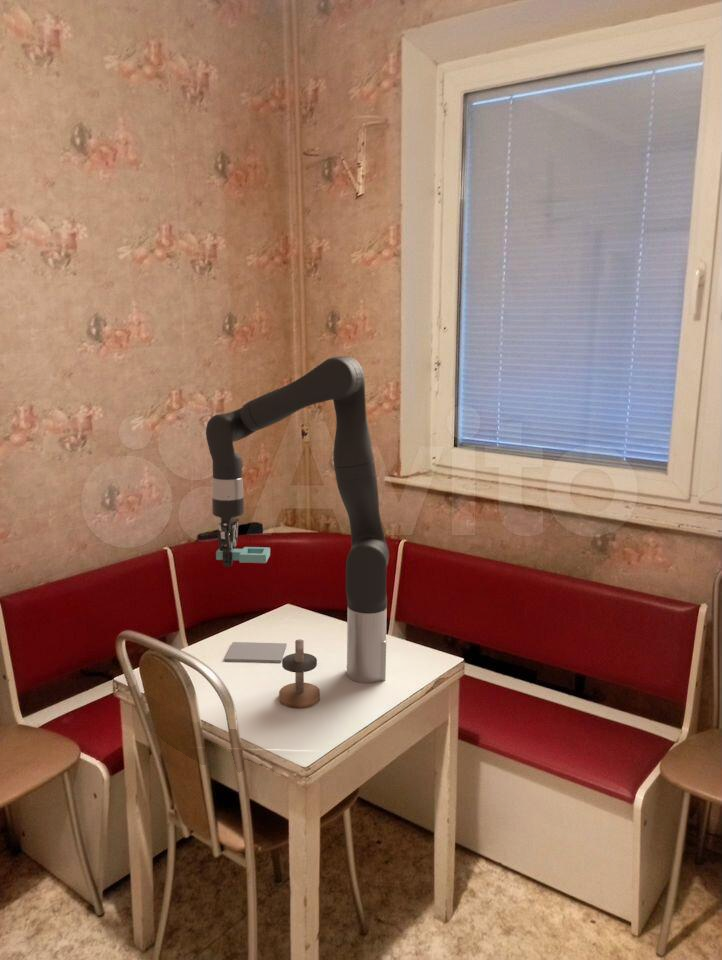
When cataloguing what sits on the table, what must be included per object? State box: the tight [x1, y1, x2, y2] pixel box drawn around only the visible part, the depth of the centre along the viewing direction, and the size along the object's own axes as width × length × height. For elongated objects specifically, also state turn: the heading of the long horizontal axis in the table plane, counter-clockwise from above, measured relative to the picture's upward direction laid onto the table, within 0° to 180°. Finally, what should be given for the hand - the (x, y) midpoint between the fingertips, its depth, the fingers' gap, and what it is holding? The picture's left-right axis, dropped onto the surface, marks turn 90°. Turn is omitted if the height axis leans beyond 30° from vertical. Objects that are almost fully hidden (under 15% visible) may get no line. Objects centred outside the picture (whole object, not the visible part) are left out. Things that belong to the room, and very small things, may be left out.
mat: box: [224, 641, 287, 664], centre depth 179 cm, size 14×10×1 cm
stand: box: [278, 639, 321, 710], centre depth 155 cm, size 9×9×14 cm
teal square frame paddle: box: [215, 546, 271, 564], centre depth 174 cm, size 12×6×2 cm, turn 88°
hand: (229, 563), depth 175 cm, fingers closed on teal square frame paddle, 3 cm apart
